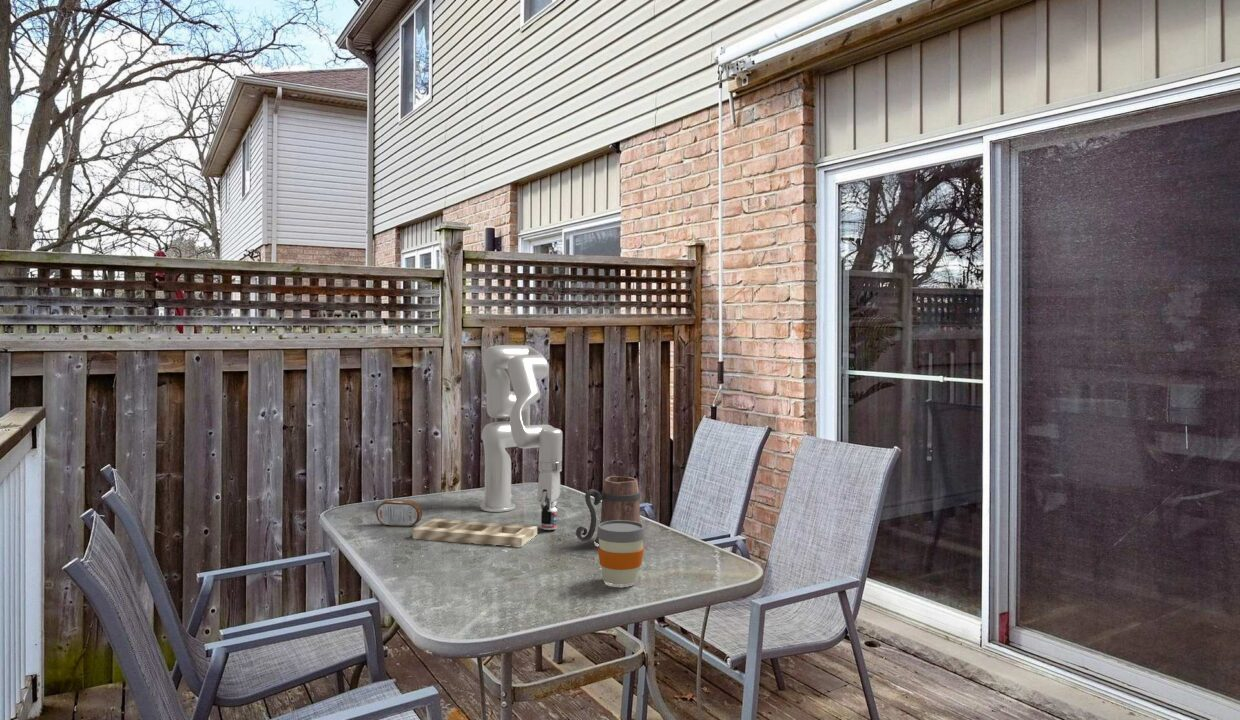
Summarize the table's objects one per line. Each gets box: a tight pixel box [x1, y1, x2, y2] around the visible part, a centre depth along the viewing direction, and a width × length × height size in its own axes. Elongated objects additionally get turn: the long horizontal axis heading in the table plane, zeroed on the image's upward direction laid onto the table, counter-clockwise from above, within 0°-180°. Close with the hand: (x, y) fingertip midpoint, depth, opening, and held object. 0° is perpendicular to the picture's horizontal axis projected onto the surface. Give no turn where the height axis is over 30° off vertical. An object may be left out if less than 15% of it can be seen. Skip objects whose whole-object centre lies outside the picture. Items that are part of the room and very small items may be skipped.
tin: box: [375, 499, 423, 527], centre depth 260 cm, size 15×3×8 cm, turn 84°
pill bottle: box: [540, 500, 558, 531], centre depth 257 cm, size 5×5×9 cm
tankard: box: [575, 475, 645, 544], centre depth 241 cm, size 24×17×20 cm
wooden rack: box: [412, 517, 538, 547], centre depth 247 cm, size 36×14×3 cm, turn 77°
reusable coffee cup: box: [596, 520, 646, 584], centre depth 206 cm, size 12×13×15 cm
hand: (549, 520), depth 257 cm, fingers closed on pill bottle, 5 cm apart
